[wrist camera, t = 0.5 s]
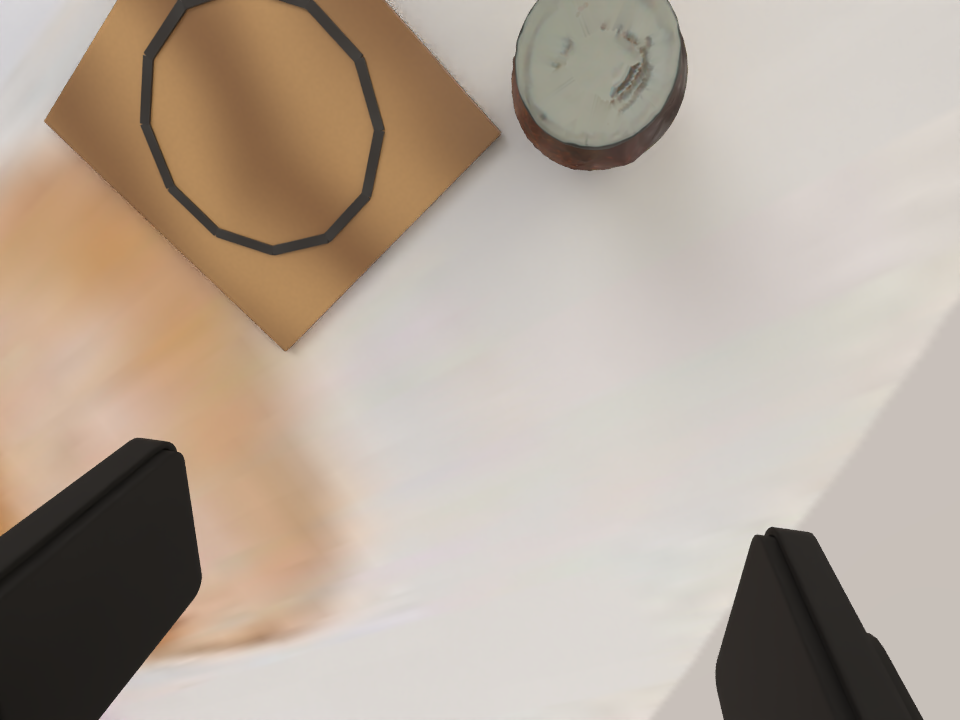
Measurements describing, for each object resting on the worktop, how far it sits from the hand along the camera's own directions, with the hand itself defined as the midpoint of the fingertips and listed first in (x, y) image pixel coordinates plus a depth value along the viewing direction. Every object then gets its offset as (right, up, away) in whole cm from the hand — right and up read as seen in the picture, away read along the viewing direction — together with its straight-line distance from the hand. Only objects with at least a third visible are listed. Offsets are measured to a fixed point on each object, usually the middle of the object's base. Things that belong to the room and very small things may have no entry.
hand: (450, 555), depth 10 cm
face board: (-12, +17, +26) cm, 34 cm away
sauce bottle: (+7, +18, +23) cm, 30 cm away
